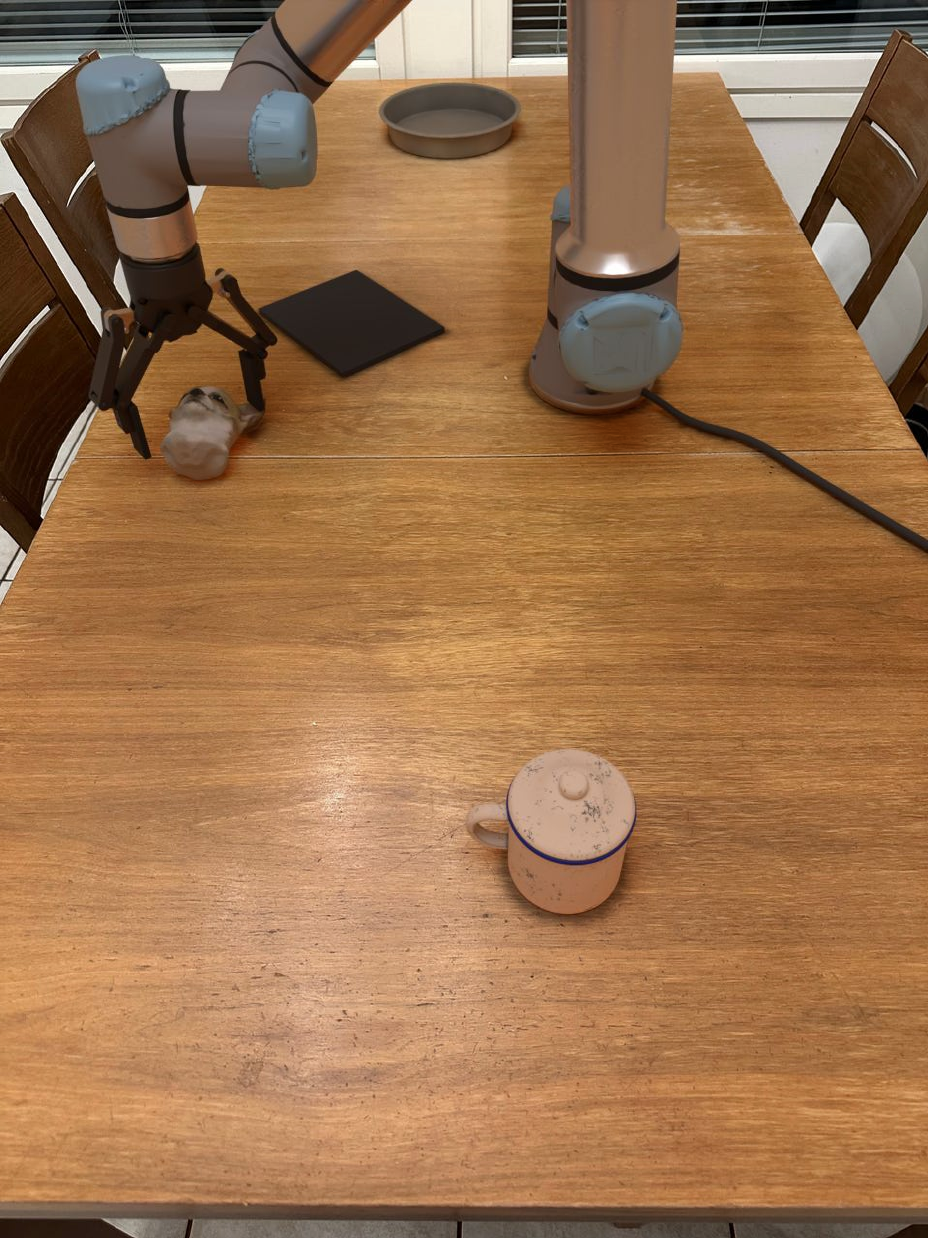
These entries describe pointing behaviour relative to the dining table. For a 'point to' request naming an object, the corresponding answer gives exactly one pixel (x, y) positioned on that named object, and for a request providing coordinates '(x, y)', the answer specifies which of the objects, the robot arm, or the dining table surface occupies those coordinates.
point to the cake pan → (450, 119)
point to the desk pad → (351, 322)
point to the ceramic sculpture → (206, 431)
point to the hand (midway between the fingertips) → (201, 429)
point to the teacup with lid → (562, 829)
